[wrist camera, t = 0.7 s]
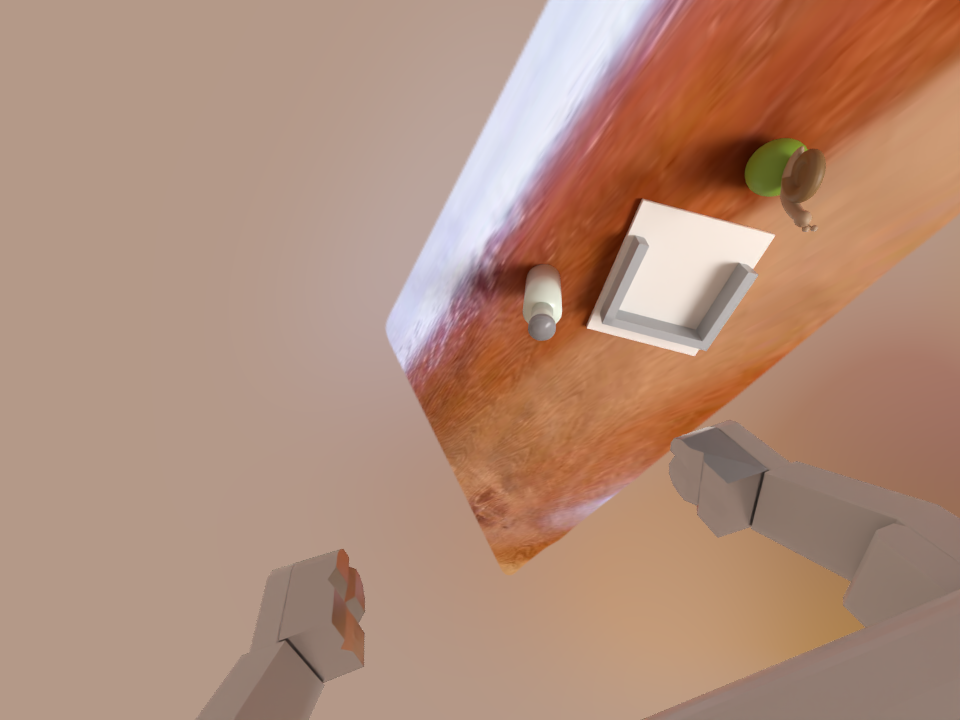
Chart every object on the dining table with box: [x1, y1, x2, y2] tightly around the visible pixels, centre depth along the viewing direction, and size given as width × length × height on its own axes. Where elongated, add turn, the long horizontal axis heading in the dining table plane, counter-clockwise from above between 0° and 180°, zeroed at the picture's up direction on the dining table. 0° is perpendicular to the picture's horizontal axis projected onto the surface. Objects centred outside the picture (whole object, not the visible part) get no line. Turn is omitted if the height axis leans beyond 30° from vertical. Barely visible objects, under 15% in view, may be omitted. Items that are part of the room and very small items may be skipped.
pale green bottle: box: [523, 264, 562, 340], centre depth 50 cm, size 5×5×13 cm
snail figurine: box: [745, 138, 826, 232], centre depth 39 cm, size 5×6×12 cm
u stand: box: [586, 199, 775, 356], centre depth 51 cm, size 18×16×4 cm
